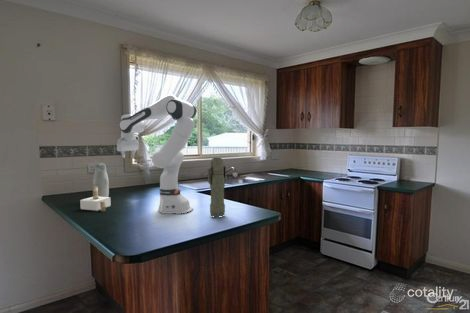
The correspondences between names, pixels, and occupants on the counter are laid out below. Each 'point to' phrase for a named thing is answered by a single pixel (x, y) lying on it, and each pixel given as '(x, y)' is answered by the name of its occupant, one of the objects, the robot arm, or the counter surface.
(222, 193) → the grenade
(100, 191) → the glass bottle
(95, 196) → the long pin
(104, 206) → the short pin
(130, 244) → the counter surface
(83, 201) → the hole block
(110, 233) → the counter surface
